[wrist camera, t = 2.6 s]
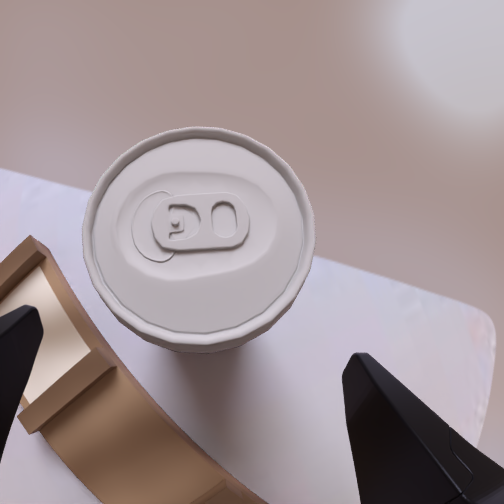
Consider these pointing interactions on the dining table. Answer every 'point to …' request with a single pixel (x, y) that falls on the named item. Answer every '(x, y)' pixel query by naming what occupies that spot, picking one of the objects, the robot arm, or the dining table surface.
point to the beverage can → (198, 239)
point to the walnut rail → (102, 402)
